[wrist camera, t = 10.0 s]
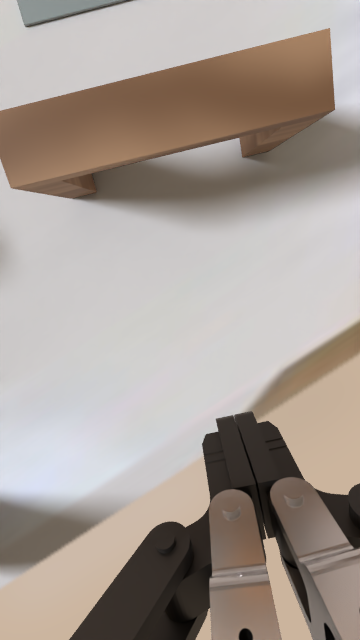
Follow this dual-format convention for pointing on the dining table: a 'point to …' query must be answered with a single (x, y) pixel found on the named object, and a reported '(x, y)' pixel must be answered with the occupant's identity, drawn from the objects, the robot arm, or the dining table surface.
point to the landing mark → (56, 8)
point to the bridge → (169, 114)
